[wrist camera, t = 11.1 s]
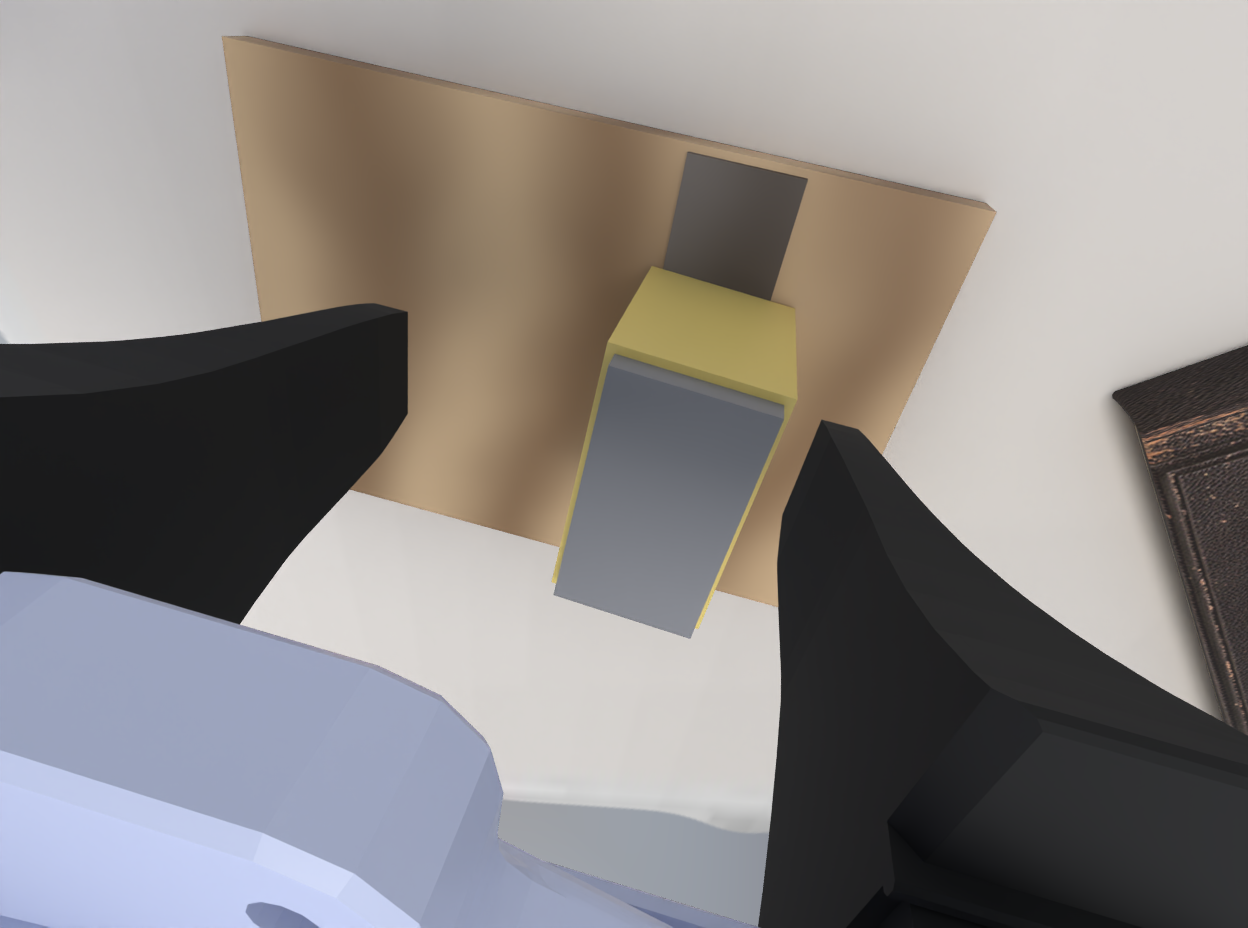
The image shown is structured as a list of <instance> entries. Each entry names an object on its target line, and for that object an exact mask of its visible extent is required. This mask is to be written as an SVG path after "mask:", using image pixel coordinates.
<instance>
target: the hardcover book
mask: <svg viewBox="0 0 1248 928" xmlns="http://www.w3.org/2000/svg"><path fill="white" fill-rule="evenodd" d="M1112 396H1113V398H1114V399H1115V400H1116V401H1117V402H1118V403H1119V404H1120V405H1121V406H1122V408H1123V409H1124V410H1125V411H1126V412H1127V414H1128V415H1129V416H1130V418H1131V419H1132V421H1133V423H1134V426H1135V429H1136V432H1137V435H1138V439H1139V442H1140V445H1141V449H1142V452H1143V455H1144V459H1145V462H1146V465H1147V468H1148V472H1149V475H1150V478H1151V482H1152V485H1153V488H1154V491H1155V495H1156V498H1157V501H1158V505H1159V508H1160V511H1161V515H1162V518H1163V522H1164V525H1165V528H1166V532H1167V535H1168V538H1169V542H1170V545H1171V548H1172V552H1173V555H1174V558H1175V562H1176V565H1177V568H1178V572H1179V575H1180V578H1181V582H1182V585H1183V588H1184V592H1185V595H1186V598H1187V602H1188V605H1189V608H1190V612H1191V615H1192V618H1193V622H1194V625H1195V629H1196V632H1197V635H1198V639H1199V642H1200V645H1201V649H1202V652H1203V655H1204V659H1205V662H1206V665H1207V669H1208V672H1209V675H1210V679H1211V682H1212V685H1213V689H1214V692H1215V695H1216V699H1217V702H1218V705H1219V709H1220V712H1221V715H1222V719H1223V722H1224V723H1226V724H1227V725H1229V726H1231V727H1233V728H1235V729H1237V730H1238V731H1240V732H1242V733H1244V734H1246V735H1248V346H1245V347H1242V348H1239V349H1237V350H1234V351H1231V352H1228V353H1225V354H1222V355H1219V356H1216V357H1214V358H1211V359H1208V360H1205V361H1202V362H1199V363H1196V364H1193V365H1190V366H1188V367H1185V368H1182V369H1179V370H1176V371H1173V372H1170V373H1167V374H1165V375H1162V376H1159V377H1156V378H1153V379H1150V380H1147V381H1144V382H1142V383H1139V384H1136V385H1133V386H1130V387H1127V388H1124V389H1121V390H1118V391H1116V392H1114V394H1113V395H1112Z"/></svg>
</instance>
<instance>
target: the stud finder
mask: <svg viewBox="0 0 1248 928" xmlns="http://www.w3.org/2000/svg"><path fill="white" fill-rule="evenodd" d="M796 402H797V361H796V321H795V308H792V307H788V306H785V305H781V304H778V303H775V302H771V301H768V300H765V299H761V298H758V297H755V296H751V295H748V294H745V293H741V292H738V291H734V290H731V289H728V288H724V287H721V286H718V285H714V284H711V283H708V282H704V281H701V280H698V279H694V278H691V277H687V276H684V275H681V274H677V273H674V272H671V271H667V270H664V269H661V268H657V267H654V266H652V267H651V268H650V270H649V272H648V273H647V275H646V277H645V279H644V280H643V282H642V284H641V285H640V287H639V289H638V291H637V292H636V294H635V296H634V297H633V299H632V301H631V303H630V304H629V306H628V308H627V309H626V311H625V313H624V315H623V316H622V318H621V320H620V321H619V323H618V325H617V327H616V328H615V330H614V332H613V333H612V335H611V337H610V339H609V340H608V342H607V346H606V351H605V355H604V359H603V363H602V368H601V372H600V376H599V381H598V385H597V389H596V394H595V398H594V402H593V406H592V411H591V415H590V419H589V424H588V428H587V432H586V436H585V441H584V445H583V449H582V454H581V458H580V462H579V467H578V471H577V475H576V479H575V484H574V488H573V492H572V497H571V501H570V505H569V509H568V514H567V518H566V522H565V527H564V531H563V535H562V540H561V544H560V548H559V552H558V557H557V561H556V565H555V570H554V574H553V578H552V582H553V583H556V587H555V591H554V595H555V596H559V597H562V598H565V599H568V600H571V601H574V602H577V603H580V604H583V605H587V606H590V607H593V608H596V609H599V610H602V611H605V612H608V613H611V614H615V615H618V616H621V617H624V618H627V619H630V620H633V621H636V622H639V623H643V624H646V625H649V626H652V627H655V628H658V629H661V630H664V631H667V632H671V633H674V634H677V635H680V636H683V637H686V638H689V639H690V638H691V636H692V633H693V631H694V629H695V628H697V629H698V628H699V626H700V624H701V621H702V619H703V617H704V614H705V612H706V610H707V607H708V605H709V603H710V600H711V598H712V596H713V594H714V591H715V589H716V587H717V584H718V582H719V580H720V577H721V575H722V573H723V570H724V568H725V566H726V563H727V561H728V559H729V557H730V554H731V552H732V550H733V547H734V545H735V543H736V540H737V538H738V536H739V533H740V531H741V529H742V527H743V524H744V522H745V520H746V517H747V515H748V513H749V510H750V508H751V506H752V503H753V501H754V499H755V497H756V494H757V492H758V490H759V487H760V485H761V483H762V480H763V478H764V476H765V473H766V471H767V469H768V466H769V464H770V462H771V460H772V457H773V455H774V453H775V450H776V448H777V446H778V443H779V441H780V439H781V436H782V434H783V432H784V430H785V427H786V425H787V423H788V420H789V418H790V416H791V413H792V411H793V409H794V406H795V404H796Z"/></svg>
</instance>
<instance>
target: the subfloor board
mask: <svg viewBox="0 0 1248 928" xmlns="http://www.w3.org/2000/svg"><path fill="white" fill-rule="evenodd" d="M222 41H223V48H224V55H225V62H226V69H227V77H228V84H229V91H230V98H231V105H232V113H233V120H234V127H235V134H236V141H237V148H238V156H239V163H240V170H241V177H242V184H243V192H244V199H245V206H246V213H247V220H248V228H249V235H250V242H251V249H252V256H253V264H254V271H255V278H256V285H257V292H258V300H259V307H260V314H261V321H262V322H263V321H268V320H273V319H278V318H283V317H288V316H293V315H298V314H303V313H308V312H314V311H319V310H324V309H329V308H335V307H341V306H347V305H354V304H364V303H376V304H380V305H384V306H388V307H392V308H395V309H399V310H403V311H407V312H408V414H407V416H406V418H405V419H404V421H403V422H402V424H401V426H400V427H399V429H398V430H397V432H396V433H395V435H394V437H393V438H392V439H391V441H390V442H389V444H388V445H387V447H386V448H385V450H384V451H383V453H382V454H381V455H380V456H379V457H378V459H377V460H376V461H375V462H374V463H373V464H372V465H371V466H370V468H369V469H368V470H367V471H366V472H365V473H364V474H363V475H362V476H361V477H360V479H359V480H358V481H357V482H356V483H355V484H354V485H353V486H352V487H351V488H350V490H354V491H358V492H361V493H365V494H369V495H372V496H376V497H379V498H383V499H387V500H390V501H394V502H398V503H401V504H405V505H409V506H412V507H416V508H419V509H423V510H427V511H430V512H434V513H438V514H441V515H445V516H449V517H452V518H456V519H459V520H463V521H467V522H470V523H474V524H478V525H481V526H485V527H488V528H492V529H496V530H499V531H503V532H507V533H510V534H514V535H518V536H521V537H525V538H528V539H532V540H536V541H539V542H543V543H547V544H550V545H554V546H558V547H560V544H561V540H562V535H563V531H564V527H565V522H566V518H567V514H568V509H569V505H570V501H571V497H572V492H573V488H574V484H575V479H576V475H577V471H578V467H579V462H580V458H581V454H582V449H583V445H584V441H585V436H586V432H587V428H588V424H589V419H590V415H591V411H592V406H593V402H594V398H595V394H596V389H597V385H598V381H599V376H600V372H601V368H602V363H603V359H604V355H605V351H606V346H607V342H608V340H609V339H610V337H611V335H612V333H613V332H614V330H615V328H616V327H617V325H618V323H619V321H620V320H621V318H622V316H623V315H624V313H625V311H626V309H627V308H628V306H629V304H630V303H631V301H632V299H633V297H634V296H635V294H636V292H637V291H638V289H639V287H640V285H641V284H642V282H643V280H644V279H645V277H646V275H647V273H648V272H649V270H650V268H651V267H652V266H654V267H657V268H661V269H664V270H667V271H671V272H674V273H677V274H681V275H684V276H687V277H691V278H694V279H698V280H701V281H704V282H708V283H711V284H714V285H718V286H721V287H724V288H728V289H731V290H734V291H738V292H741V293H745V294H748V295H751V296H755V297H758V298H761V299H765V300H768V301H771V302H775V303H778V304H781V305H785V306H788V307H792V308H795V321H796V361H797V402H796V404H795V406H794V409H793V411H792V413H791V416H790V418H789V420H788V423H787V425H786V427H785V430H784V432H783V434H782V436H781V439H780V441H779V443H778V446H777V448H776V450H775V453H774V455H773V457H772V460H771V462H770V464H769V466H768V469H767V471H766V473H765V476H764V478H763V480H762V483H761V485H760V487H759V490H758V492H757V494H756V497H755V499H754V501H753V503H752V506H751V508H750V510H749V513H748V515H747V517H746V520H745V522H744V524H743V527H742V529H741V531H740V533H739V536H738V538H737V540H736V543H735V545H734V547H733V550H732V552H731V554H730V557H729V559H728V561H727V563H726V566H725V568H724V570H723V573H722V575H721V577H720V580H719V582H718V584H717V587H716V589H715V590H717V591H721V592H725V593H728V594H732V595H736V596H739V597H743V598H747V599H750V600H754V601H757V602H761V603H765V604H768V605H772V606H776V607H778V584H777V557H778V547H779V538H780V529H781V521H782V514H783V512H784V509H785V507H786V505H787V502H788V500H789V497H790V495H791V492H792V490H793V488H794V485H795V483H796V480H797V478H798V475H799V473H800V470H801V468H802V466H803V463H804V461H805V458H806V456H807V453H808V451H809V449H810V446H811V444H812V441H813V439H814V436H815V434H816V431H817V429H818V427H819V424H820V422H821V419H822V420H825V421H829V422H833V423H837V424H841V425H845V426H848V427H852V428H856V429H859V430H860V431H861V432H862V433H863V434H864V435H865V436H866V437H867V438H868V439H869V440H870V442H871V443H872V444H873V445H874V446H875V447H876V449H877V450H878V451H879V452H880V453H881V455H882V453H883V451H884V449H885V447H886V445H887V443H888V441H889V439H890V436H891V434H892V432H893V430H894V428H895V426H896V424H897V422H898V420H899V417H900V415H901V413H902V411H903V409H904V407H905V405H906V403H907V401H908V398H909V396H910V394H911V392H912V390H913V388H914V386H915V384H916V381H917V379H918V377H919V375H920V373H921V371H922V369H923V367H924V365H925V362H926V360H927V358H928V356H929V354H930V352H931V350H932V348H933V345H934V343H935V341H936V339H937V337H938V335H939V333H940V331H941V329H942V326H943V324H944V322H945V320H946V318H947V316H948V314H949V312H950V310H951V307H952V305H953V303H954V301H955V299H956V297H957V295H958V293H959V290H960V288H961V286H962V284H963V282H964V280H965V278H966V276H967V274H968V271H969V269H970V267H971V265H972V263H973V261H974V259H975V257H976V254H977V252H978V250H979V248H980V246H981V244H982V242H983V240H984V238H985V235H986V233H987V231H988V229H989V227H990V225H991V223H992V221H993V219H994V216H995V214H996V211H995V210H994V209H992V208H991V207H990V206H989V205H988V204H987V203H983V202H978V201H974V200H970V199H965V198H961V197H956V196H952V195H947V194H943V193H939V192H934V191H930V190H925V189H921V188H916V187H912V186H908V185H903V184H899V183H894V182H890V181H886V180H881V179H877V178H872V177H868V176H863V175H859V174H855V173H850V172H846V171H841V170H837V169H832V168H828V167H824V166H819V165H815V164H810V163H806V162H802V161H797V160H793V159H788V158H784V157H779V156H775V155H771V154H766V153H762V152H757V151H753V150H748V149H744V148H740V147H735V146H731V145H726V144H722V143H718V142H713V141H709V140H704V139H700V138H695V137H691V136H687V135H682V134H678V133H673V132H669V131H664V130H660V129H656V128H651V127H647V126H642V125H638V124H634V123H629V122H625V121H620V120H616V119H611V118H607V117H603V116H598V115H594V114H589V113H585V112H580V111H576V110H572V109H567V108H563V107H558V106H554V105H550V104H545V103H541V102H536V101H532V100H527V99H523V98H519V97H514V96H510V95H505V94H501V93H496V92H492V91H488V90H483V89H479V88H474V87H470V86H465V85H461V84H457V83H452V82H448V81H443V80H439V79H435V78H430V77H426V76H421V75H417V74H412V73H408V72H404V71H399V70H395V69H390V68H386V67H381V66H377V65H373V64H368V63H364V62H359V61H355V60H351V59H346V58H342V57H337V56H333V55H328V54H324V53H320V52H315V51H311V50H306V49H302V48H297V47H293V46H289V45H284V44H280V43H275V42H271V41H267V40H262V39H258V38H253V37H249V36H222Z"/></svg>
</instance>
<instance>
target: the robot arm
mask: <svg viewBox="0 0 1248 928" xmlns="http://www.w3.org/2000/svg"><path fill="white" fill-rule="evenodd" d="M407 414H408V312H407V311H403V310H399V309H395V308H392V307H388V306H384V305H380V304H376V303H364V304H354V305H347V306H341V307H335V308H329V309H324V310H319V311H314V312H308V313H303V314H298V315H293V316H288V317H283V318H278V319H273V320H268V321H263V322H257V323H251V324H245V325H239V326H234V327H228V328H222V329H216V330H210V331H204V332H198V333H190V334H183V335H174V336H166V337H156V338H145V339H134V340H123V341H108V342H79V343H49V344H0V928H1248V735H1246V734H1244V733H1242V732H1240V731H1238V730H1237V729H1235V728H1233V727H1231V726H1229V725H1227V724H1226V723H1224V722H1222V721H1220V720H1218V719H1216V718H1215V717H1213V716H1211V715H1209V714H1207V713H1205V712H1204V711H1202V710H1200V709H1198V708H1196V707H1194V706H1192V705H1191V704H1189V703H1187V702H1185V701H1183V700H1181V699H1180V698H1178V697H1176V696H1174V695H1172V694H1170V693H1169V692H1167V691H1165V690H1163V689H1162V688H1160V687H1158V686H1157V685H1155V684H1153V683H1152V682H1150V681H1148V680H1147V679H1145V678H1144V677H1142V676H1140V675H1139V674H1137V673H1135V672H1134V671H1132V670H1131V669H1129V668H1127V667H1126V666H1124V665H1123V664H1121V663H1119V662H1118V661H1116V660H1114V659H1113V658H1111V657H1110V656H1108V655H1106V654H1105V653H1103V652H1102V651H1100V650H1099V649H1097V648H1096V647H1094V646H1093V645H1091V644H1090V643H1088V642H1087V641H1085V640H1084V639H1082V638H1081V637H1079V636H1078V635H1076V634H1075V633H1073V632H1072V631H1070V630H1069V629H1068V628H1066V627H1065V626H1063V625H1062V624H1061V623H1059V622H1058V621H1057V620H1055V619H1054V618H1052V617H1051V616H1050V615H1048V614H1047V613H1046V612H1044V611H1043V610H1041V609H1040V608H1039V607H1037V606H1036V605H1035V604H1033V603H1032V602H1031V601H1029V600H1028V599H1027V598H1025V597H1024V596H1023V595H1022V594H1020V593H1019V592H1018V591H1016V590H1015V589H1014V588H1013V587H1011V586H1010V585H1009V584H1008V583H1007V582H1005V581H1004V580H1003V579H1002V578H1001V577H1000V576H998V575H997V574H996V573H995V572H994V571H993V570H991V569H990V568H989V567H988V566H987V565H986V564H984V563H983V562H982V561H981V560H980V559H979V558H977V557H976V556H975V555H974V554H973V553H972V552H971V551H970V550H969V549H968V548H967V547H965V546H964V545H963V544H962V543H961V542H960V541H959V540H958V539H957V538H956V537H955V536H954V535H953V534H952V533H951V532H950V531H949V530H948V529H947V528H946V527H945V526H944V525H943V524H942V523H941V522H940V521H939V520H938V519H937V518H936V517H935V515H934V514H933V513H932V512H931V511H930V510H929V509H928V508H927V507H926V506H925V505H924V504H923V502H922V501H921V500H920V499H919V498H918V497H917V496H916V495H915V493H914V492H913V491H912V490H911V489H910V488H909V487H908V485H907V484H906V483H905V482H904V481H903V480H902V478H901V477H900V476H899V475H898V474H897V472H896V471H895V470H894V469H893V468H892V467H891V465H890V464H889V463H888V462H887V461H886V459H885V458H884V457H883V456H882V455H881V453H880V452H879V451H878V450H877V449H876V447H875V446H874V445H873V444H872V443H871V442H870V440H869V439H868V438H867V437H866V436H865V435H864V434H863V433H862V432H861V431H860V430H859V429H856V428H852V427H848V426H845V425H841V424H837V423H833V422H829V421H825V420H822V419H821V422H820V424H819V427H818V429H817V431H816V434H815V436H814V439H813V441H812V444H811V446H810V449H809V451H808V453H807V456H806V458H805V461H804V463H803V466H802V468H801V470H800V473H799V475H798V478H797V480H796V483H795V485H794V488H793V490H792V492H791V495H790V497H789V500H788V502H787V505H786V507H785V509H784V512H783V514H782V521H781V529H780V538H779V547H778V557H777V584H778V611H779V634H780V658H781V706H780V720H779V733H778V747H777V759H776V770H775V781H774V791H773V802H772V813H771V822H770V831H769V841H768V850H767V858H766V868H765V876H764V885H763V886H764V887H763V893H762V901H761V909H760V916H759V924H758V927H756V926H753V925H750V924H747V923H744V922H740V921H737V920H734V919H731V918H727V917H724V916H720V915H718V914H714V913H711V912H708V911H704V910H701V909H698V908H695V907H692V906H688V905H685V904H682V903H679V902H676V901H672V900H669V899H666V898H663V897H660V896H656V895H653V894H650V893H647V892H643V891H640V890H637V889H633V888H630V887H627V886H624V885H621V884H618V883H614V882H611V881H608V880H605V879H601V878H598V877H595V876H592V875H588V874H585V873H582V872H578V871H575V870H572V869H569V868H565V867H563V866H559V865H556V864H553V863H550V862H546V861H543V860H541V859H539V858H537V857H535V856H533V855H531V854H529V853H527V852H525V851H524V850H521V849H520V848H517V847H516V846H514V845H512V844H510V843H508V842H506V841H504V840H502V839H500V838H498V833H497V832H498V826H499V819H500V813H501V806H502V800H503V790H502V787H501V783H500V780H499V776H498V773H497V769H496V766H495V762H494V759H493V755H492V752H491V749H490V747H489V745H488V744H487V742H486V740H485V738H484V737H483V736H482V735H481V734H480V733H479V732H478V731H477V730H476V729H475V728H474V727H473V726H472V725H471V724H470V723H469V722H468V721H467V720H466V719H465V718H464V717H463V716H461V715H460V714H459V713H458V712H457V711H456V710H455V709H454V708H453V707H452V706H451V705H450V704H449V703H448V702H447V701H446V700H445V699H444V698H443V697H442V696H441V695H439V694H437V693H435V692H433V691H431V690H429V689H426V688H424V687H422V686H420V685H418V684H416V683H414V682H412V681H410V680H407V679H405V678H403V677H401V676H399V675H397V674H395V673H393V672H391V671H388V670H386V669H384V668H382V667H380V666H378V665H374V664H371V663H368V662H364V661H361V660H357V659H354V658H351V657H347V656H344V655H341V654H337V653H334V652H330V651H327V650H324V649H320V648H317V647H314V646H310V645H307V644H303V643H300V642H297V641H293V640H290V639H286V638H283V637H280V636H276V635H273V634H270V633H266V632H263V631H259V630H256V629H253V628H249V627H246V626H243V625H240V623H241V622H242V620H243V619H244V617H245V616H246V614H247V613H248V611H249V610H250V609H251V607H252V606H253V604H254V603H255V601H256V600H257V599H258V597H259V596H260V594H261V593H262V592H263V590H264V589H265V588H266V586H267V585H268V584H269V582H270V581H271V579H272V578H273V577H274V575H275V574H276V573H277V571H278V570H279V569H280V567H281V566H282V564H283V563H284V562H285V560H286V559H287V558H288V556H289V555H290V554H291V553H292V552H293V551H294V549H295V548H296V547H297V546H298V545H299V543H300V542H301V541H302V540H303V539H304V538H305V537H306V535H307V534H308V533H309V532H310V531H311V530H312V529H313V528H314V527H315V526H316V525H317V524H318V523H319V522H320V520H321V519H322V518H323V517H324V516H325V515H326V514H327V513H328V512H329V511H330V510H331V509H332V508H333V507H334V505H335V504H336V503H337V502H338V501H339V500H340V499H341V498H342V497H343V496H344V495H345V494H346V493H347V492H348V490H349V489H350V488H351V487H352V486H353V485H354V484H355V483H356V482H357V481H358V480H359V479H360V477H361V476H362V475H363V474H364V473H365V472H366V471H367V470H368V469H369V468H370V466H371V465H372V464H373V463H374V462H375V461H376V460H377V459H378V457H379V456H380V455H381V454H382V453H383V451H384V450H385V448H386V447H387V445H388V444H389V442H390V441H391V439H392V438H393V437H394V435H395V433H396V432H397V430H398V429H399V427H400V426H401V424H402V422H403V421H404V419H405V418H406V416H407Z"/></svg>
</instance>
